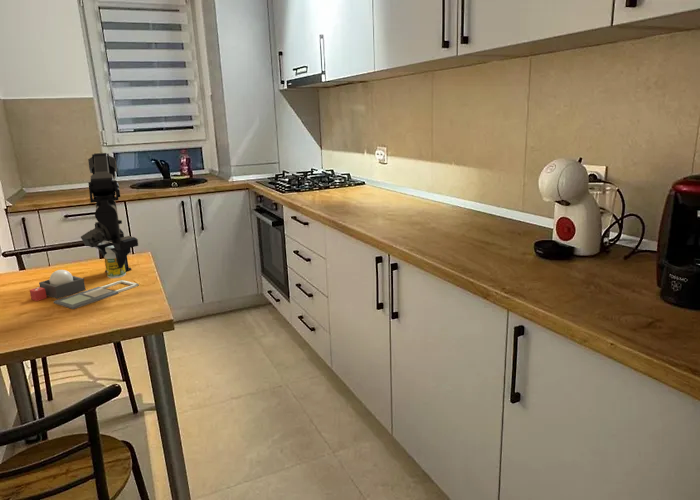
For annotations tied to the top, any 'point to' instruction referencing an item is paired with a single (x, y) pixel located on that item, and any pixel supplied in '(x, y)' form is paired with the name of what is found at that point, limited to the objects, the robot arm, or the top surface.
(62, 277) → the dome
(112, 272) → the supplement bottle
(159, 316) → the top surface
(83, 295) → the game board
